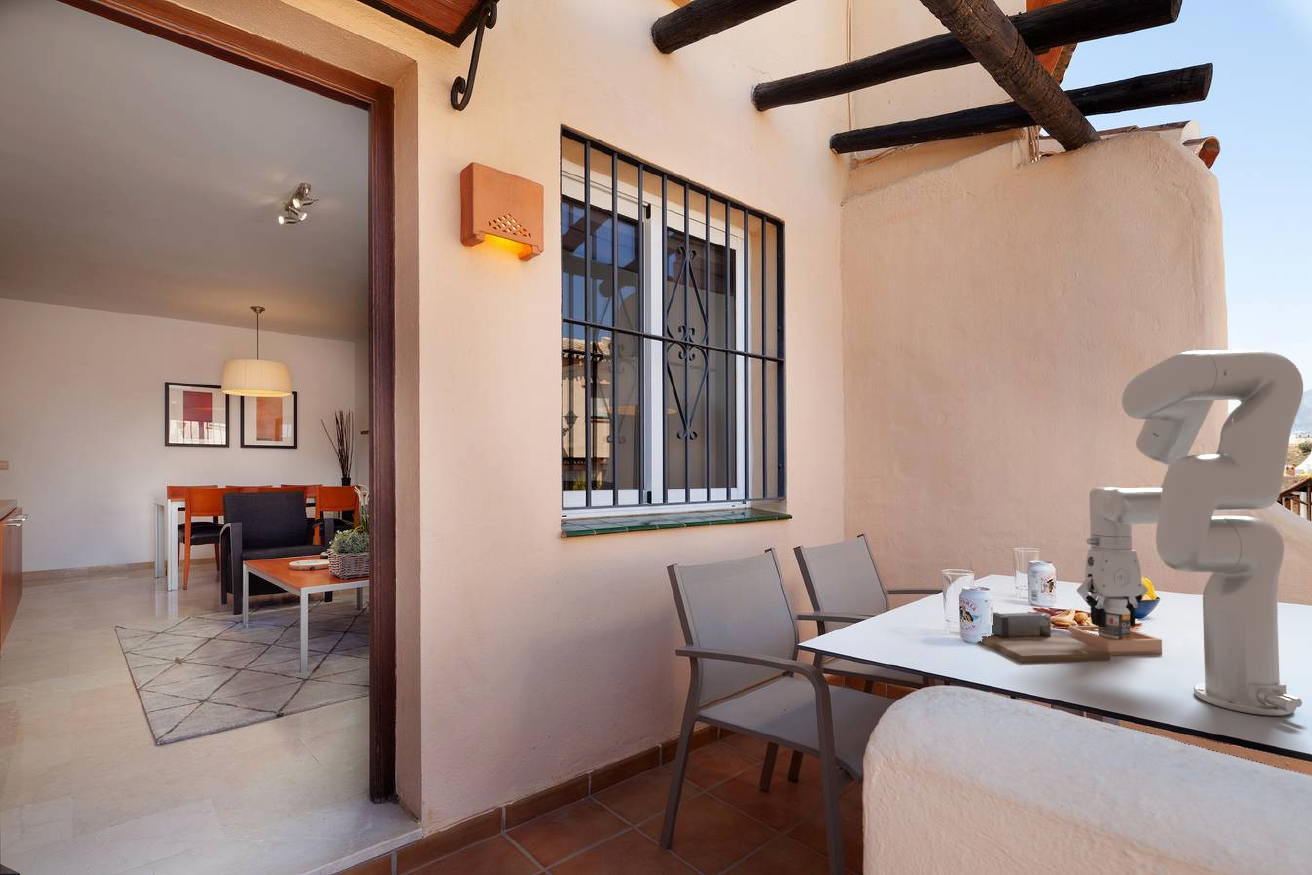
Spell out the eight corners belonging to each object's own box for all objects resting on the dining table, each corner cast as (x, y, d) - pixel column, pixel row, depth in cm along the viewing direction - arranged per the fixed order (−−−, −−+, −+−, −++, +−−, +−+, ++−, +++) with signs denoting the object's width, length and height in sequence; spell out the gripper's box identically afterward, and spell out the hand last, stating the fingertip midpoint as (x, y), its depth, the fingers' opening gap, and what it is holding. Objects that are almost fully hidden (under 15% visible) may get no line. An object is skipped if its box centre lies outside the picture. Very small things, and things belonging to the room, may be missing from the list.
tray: (1162, 653, 137) (1161, 639, 137) (1108, 655, 136) (1108, 641, 136) (1118, 638, 149) (1117, 624, 149) (1068, 639, 148) (1068, 626, 148)
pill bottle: (1129, 648, 139) (1130, 601, 139) (1097, 642, 142) (1097, 597, 142) (1130, 642, 143) (1130, 597, 143) (1099, 637, 147) (1099, 593, 147)
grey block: (1042, 631, 149) (1042, 611, 149) (1056, 636, 145) (1055, 616, 145) (990, 632, 148) (989, 612, 148) (1001, 637, 144) (1001, 617, 144)
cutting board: (1110, 660, 133) (1110, 652, 133) (1021, 663, 132) (1021, 655, 132) (1058, 639, 149) (1058, 631, 149) (978, 641, 147) (978, 634, 147)
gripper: (1086, 546, 139) (1088, 630, 138) (1162, 544, 140) (1164, 628, 140) (1061, 541, 146) (1063, 621, 146) (1134, 540, 148) (1136, 619, 147)
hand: (1113, 624), depth 143 cm, fingers open, 6 cm apart
